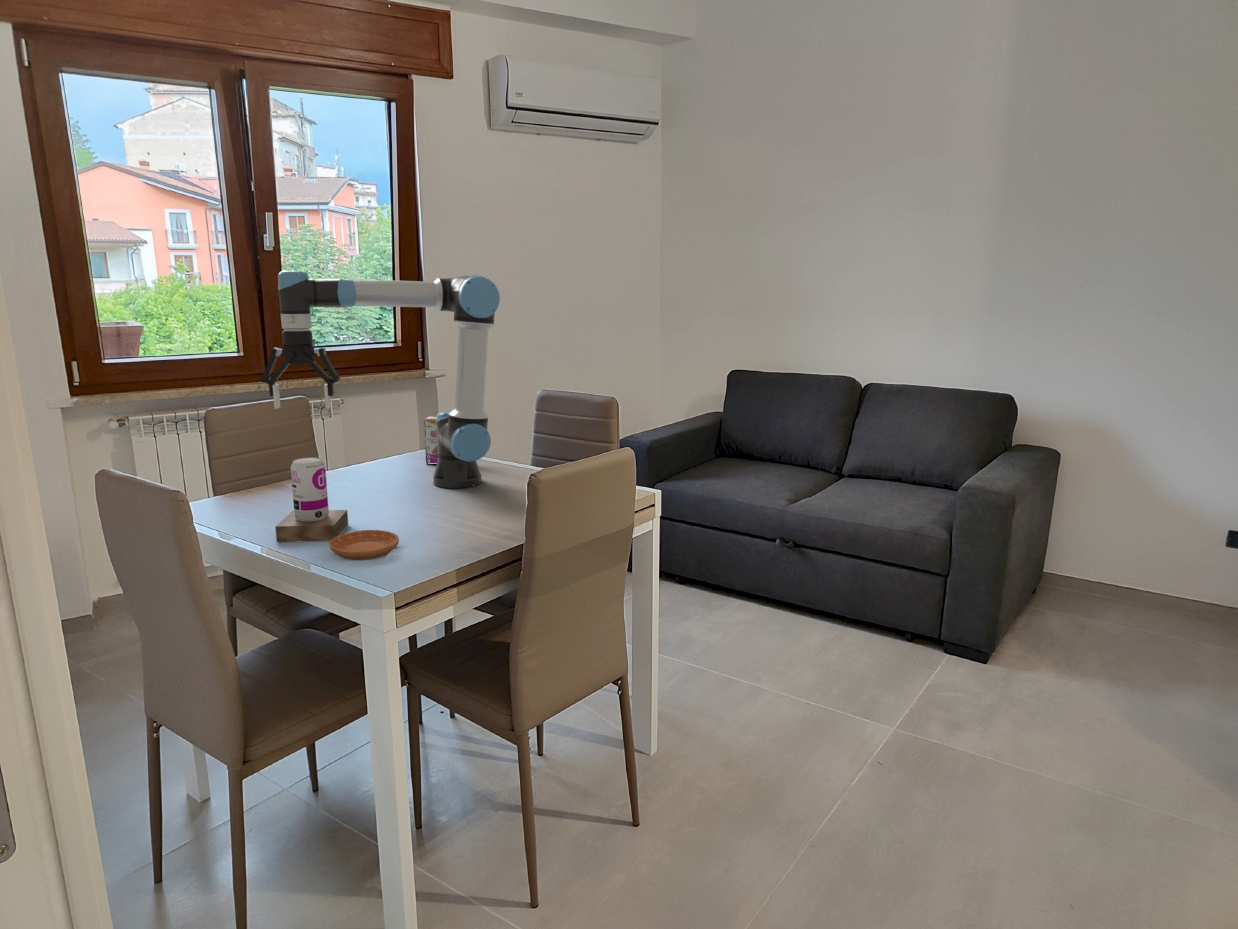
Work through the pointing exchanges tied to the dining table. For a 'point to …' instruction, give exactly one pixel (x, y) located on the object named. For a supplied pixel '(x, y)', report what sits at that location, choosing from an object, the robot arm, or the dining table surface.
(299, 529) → the podium
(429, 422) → the candy bar box
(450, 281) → the robot arm
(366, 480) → the dining table surface
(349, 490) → the dining table surface
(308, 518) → the supplement can
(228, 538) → the dining table surface
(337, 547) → the saucer
